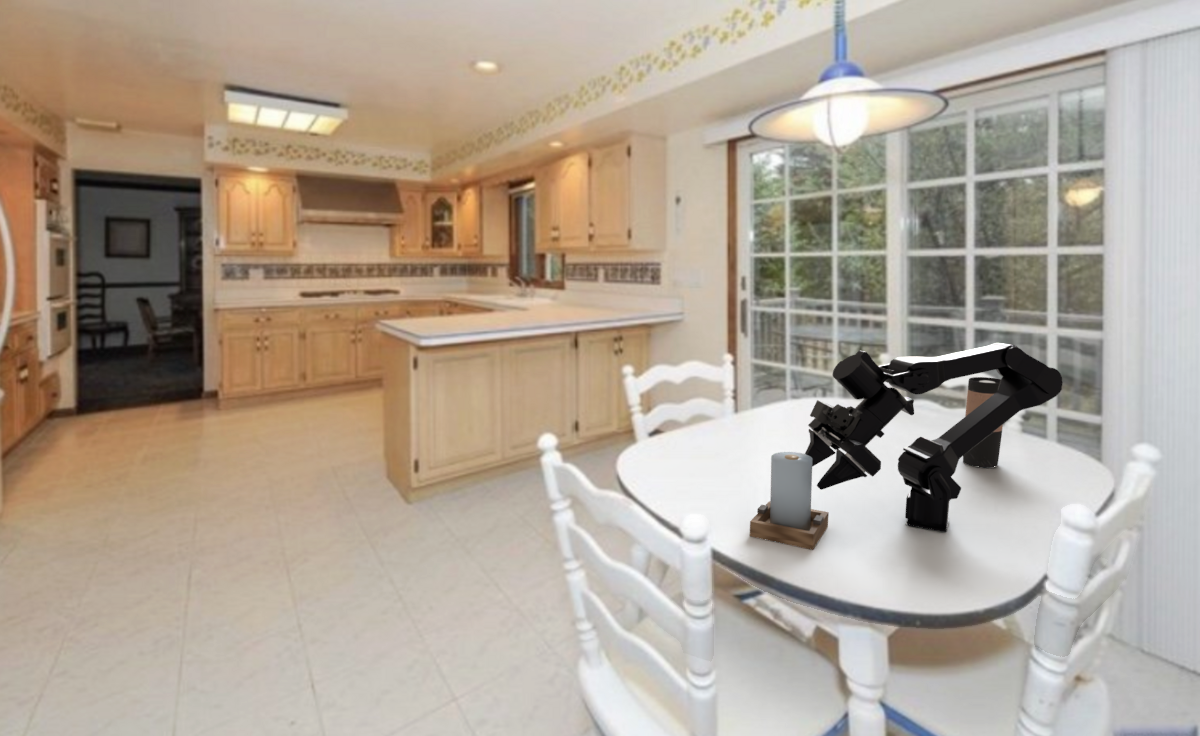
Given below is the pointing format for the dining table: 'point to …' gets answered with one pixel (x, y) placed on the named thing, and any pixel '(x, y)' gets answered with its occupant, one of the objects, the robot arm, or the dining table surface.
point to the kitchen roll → (791, 490)
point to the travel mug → (990, 446)
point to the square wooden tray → (789, 529)
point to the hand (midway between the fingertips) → (808, 478)
